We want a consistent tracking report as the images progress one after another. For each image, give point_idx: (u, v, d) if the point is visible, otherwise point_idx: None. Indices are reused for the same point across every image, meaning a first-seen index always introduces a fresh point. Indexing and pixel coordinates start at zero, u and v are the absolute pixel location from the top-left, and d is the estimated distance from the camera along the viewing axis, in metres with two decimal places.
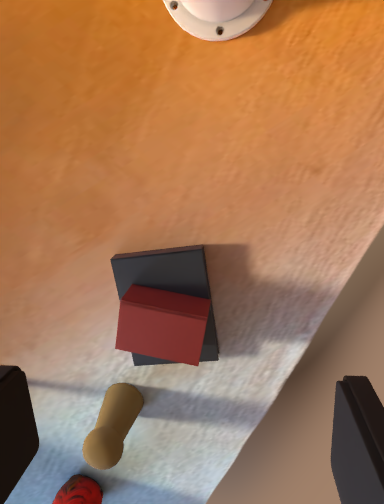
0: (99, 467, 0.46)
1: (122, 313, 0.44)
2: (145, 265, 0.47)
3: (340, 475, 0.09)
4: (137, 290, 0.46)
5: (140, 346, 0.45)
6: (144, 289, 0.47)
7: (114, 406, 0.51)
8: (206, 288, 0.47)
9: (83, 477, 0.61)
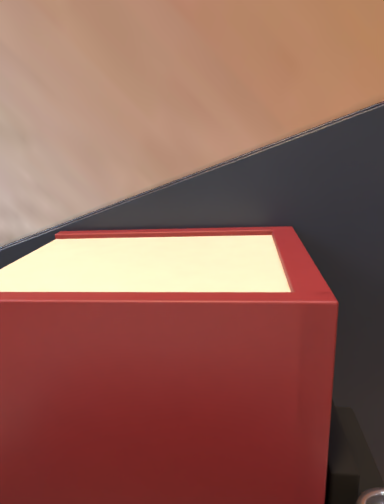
0: None
1: (221, 326, 0.06)
2: None
3: None
4: None
5: (17, 450, 0.07)
6: None
7: None
8: None
9: None
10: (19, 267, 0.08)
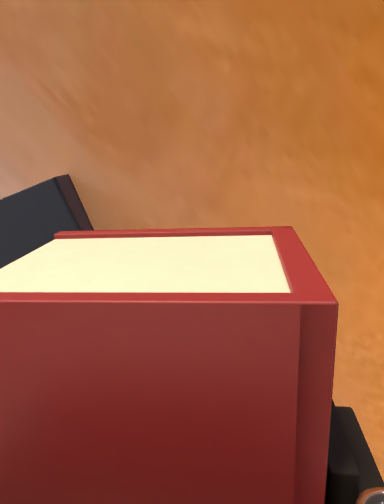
0: None
1: (220, 327, 0.06)
2: None
3: None
4: None
5: (16, 450, 0.07)
6: None
7: None
8: None
9: None
10: (18, 267, 0.08)
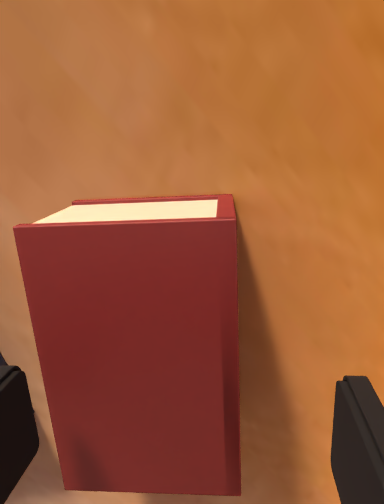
0: None
1: (177, 235, 0.11)
2: None
3: (340, 475, 0.09)
4: None
5: (62, 318, 0.12)
6: None
7: None
8: None
9: None
10: (56, 217, 0.13)
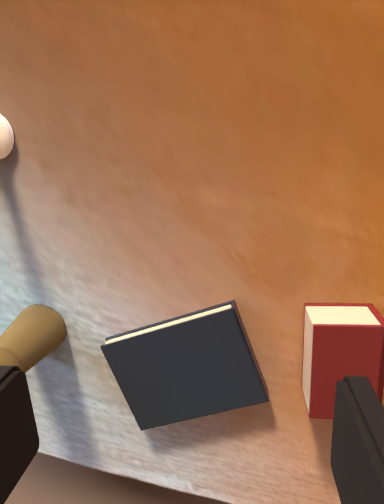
0: None
1: (370, 330, 0.34)
2: (235, 347, 0.40)
3: (340, 475, 0.09)
4: None
5: (324, 355, 0.35)
6: None
7: (42, 344, 0.40)
8: (223, 410, 0.42)
9: None
10: (314, 317, 0.36)
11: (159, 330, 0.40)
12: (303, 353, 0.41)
